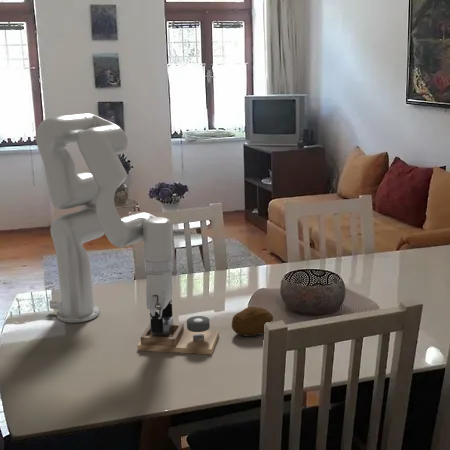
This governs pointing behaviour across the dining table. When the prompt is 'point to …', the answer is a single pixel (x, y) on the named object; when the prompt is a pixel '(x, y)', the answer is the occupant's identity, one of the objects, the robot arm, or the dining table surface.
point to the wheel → (198, 324)
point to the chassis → (179, 341)
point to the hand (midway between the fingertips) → (162, 324)
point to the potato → (251, 321)
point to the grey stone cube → (165, 328)
